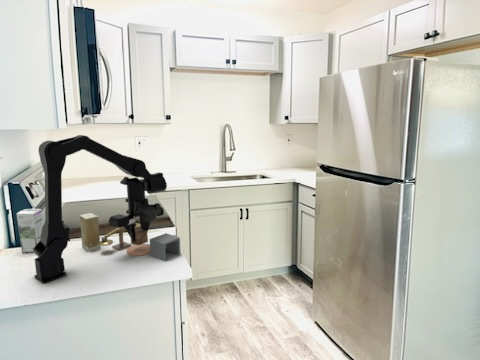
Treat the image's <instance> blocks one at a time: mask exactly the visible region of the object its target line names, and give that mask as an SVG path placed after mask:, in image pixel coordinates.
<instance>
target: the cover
mask: <svg viewBox="0 0 480 360" xmlns="http://www.w3.org/2000/svg"><path fill="white" fill-rule="evenodd" d="M180 238H181V237H180V236H175V235H173V234H170V233H167V232H166V233H164V234H160V235H157V236H155V237H152V238H149V244H150V252H151V253H150V256H151V257H153V258H155V259H158V260H161V261H163V262H166V261H167V260H166V259H167V258H166V257H167V256H166V254H167V253H166V252H170V253H173V254H175V255H181V239H180Z"/></svg>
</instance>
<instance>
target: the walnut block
mask: <svg viewBox="0 0 480 360" xmlns="http://www.w3.org/2000/svg"><path fill="white" fill-rule="evenodd" d="M148 239H149V238H148V232H147V231H146V230H143V229H141V228H137V229H135V242H134V241H132V239H131V238H130V244H132V245H141V244H147V243H148V242H149V240H148Z"/></svg>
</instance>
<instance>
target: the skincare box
mask: <svg viewBox="0 0 480 360" xmlns="http://www.w3.org/2000/svg"><path fill="white" fill-rule="evenodd" d="M79 224H80V225H79V226H80V236H81V247H82V248H83V250H85V251H87V252H89V253H90V252H93V251H97V250H100V249H101V245H99V242H100V241H101V237H100V223H99V216H98V215H96V214H94V213H93V212H89V213H84V214H83V213H82V214H79Z"/></svg>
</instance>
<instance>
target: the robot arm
mask: <svg viewBox="0 0 480 360" xmlns="http://www.w3.org/2000/svg"><path fill="white" fill-rule="evenodd" d="M82 150H83V151H85V152H87V153H90V154H92V155H93V156H96V157H97V158H100V159H102V160H105V161H106V162H108V163H111V164H112V165H115V166H116V167H117V168H118V170H119V171H122V172H123V173H124V174H126V175H128V176H124V177H123V178H122V179H121V180H120V181H119V184H121V185H124V186H126V193H127V194H126V195H127V198H125V202H126V203H127V208H128V210H126V211H125V212H126V214H127V215H123V214H121V213H119V214H115V215H112V216H110V217H109V218H108V224H109V226H110V227H111V226H112V227H114V228H116V229H117V228H121V227H124V228H123V229H125V231H126V232H127V235H129V237H130V240H131V239H132V241H134V242H135V230H136V228H135V226H136V224H135V223H134V219H135V220H137V219H139V224H140V225H141V226H140V229H143V230H146V231H147V233H148V231H149V228H150V226H151V224H152V222H154V220H157V217H162V216H164V215H165V210H164V208H163V207H162V206H161V204H160V203H159V202H157V203H153V204H149V199H148V197H146V193H147V194H155V193H161V192H165V191H166V190H167V187H168V185H167V181H166V177H164V174H163V172H156V173H151V172H150V171H149V170H148V169H147V166H146V163H145V161H143V160H141V159H137V158H134V157H131V156H127V155H123V154H121V153H119V152H117V151H115V150H114V149H111V148H109V147H107V146H105V145H104V144H101V143H100V142H97V141H96V140H93V139H92V138H91V137H89V136H88V135H85V134H84V135H83V134H77V135H76V136H74V137H73V136H71V137H69V138H65V139H64V138H63V139H60V140H57V141H55V140H45V141H42V143H41V144H39V147H38V150H37V151H38V156H39V161H40V163H41V166H42V169H43V173H44V211H45V215H44V217H45V218H44V221H43V228H42V232H41V238H40V241H39V242H38V243H37V245H36V246H35V247H34V248H33V251H34V252H33V253H34V254H35V256H37V257H36V258H34V265H35V273H36V274H35V275H33V276H34V278H35V279H36V280H37V281H39V282H41V283H43V284H45V283H48V282H52V281H54V280H57V279H60V278H62V277H66V276H67V273H66V272H65V270H66V269H65V260H64V258H63V257H62V254H63V251H64V250H65V249H67V247H68V242H70V241H71V239H70V227H69V226H68V225H67V224H65V223H64V222H63V207H62V206H63V202H62V201H63V199H62V197H63V196H62V193H63V191H62V188H63V187H62V185H63V184H62V173H63V170H64V168H65V164H66V162H67V160H66V159H67V156H71V155H73V154H75V153H78V152H80V151H82ZM129 176H131V178H129ZM139 178H140V179H139Z"/></svg>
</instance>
